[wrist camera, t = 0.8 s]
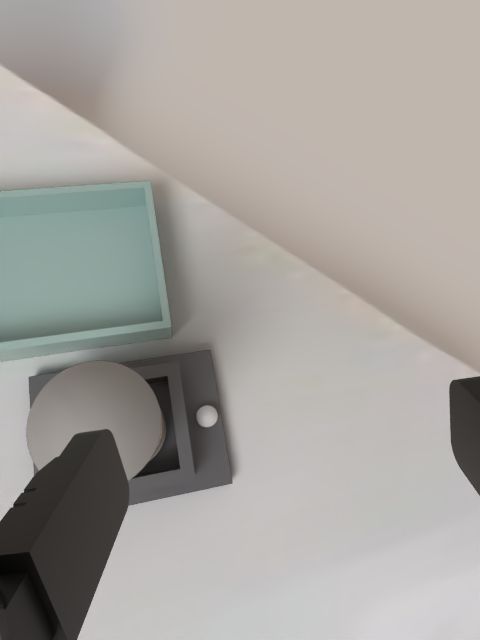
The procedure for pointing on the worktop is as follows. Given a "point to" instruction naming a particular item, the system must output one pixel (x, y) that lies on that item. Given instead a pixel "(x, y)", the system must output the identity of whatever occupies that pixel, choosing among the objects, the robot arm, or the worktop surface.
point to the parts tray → (80, 269)
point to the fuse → (97, 413)
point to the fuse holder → (177, 427)
